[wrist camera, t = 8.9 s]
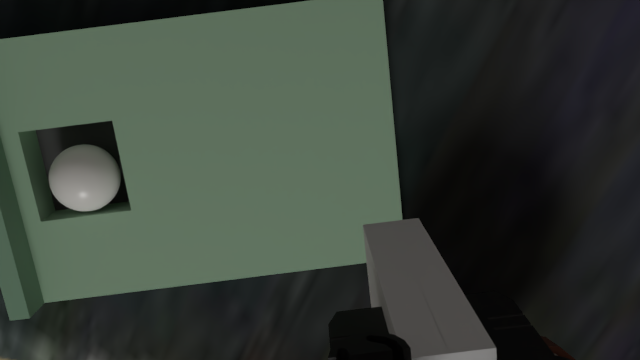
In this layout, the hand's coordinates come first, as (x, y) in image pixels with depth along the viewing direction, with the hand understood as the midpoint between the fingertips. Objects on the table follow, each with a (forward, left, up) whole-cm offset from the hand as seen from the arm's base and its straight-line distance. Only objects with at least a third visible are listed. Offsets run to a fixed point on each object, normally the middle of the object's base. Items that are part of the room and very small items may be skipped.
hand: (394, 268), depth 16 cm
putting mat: (0, -9, -22) cm, 24 cm away
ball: (+1, -16, -20) cm, 25 cm away
